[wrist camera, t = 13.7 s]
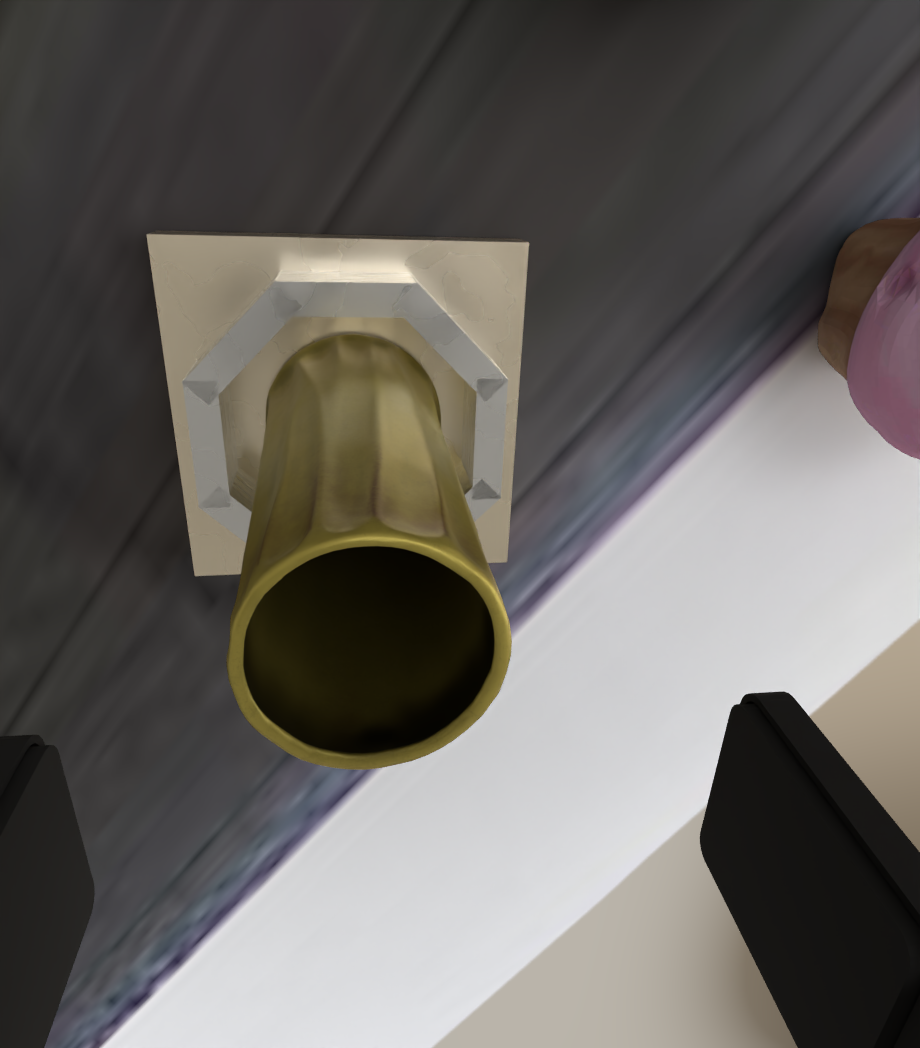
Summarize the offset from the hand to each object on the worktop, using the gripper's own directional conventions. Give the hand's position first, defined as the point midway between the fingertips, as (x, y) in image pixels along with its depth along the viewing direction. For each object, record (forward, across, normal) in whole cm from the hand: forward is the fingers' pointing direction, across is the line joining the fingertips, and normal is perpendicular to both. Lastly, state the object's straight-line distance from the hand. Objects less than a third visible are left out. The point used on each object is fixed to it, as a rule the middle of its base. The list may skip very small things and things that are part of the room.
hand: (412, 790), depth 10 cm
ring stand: (+19, +1, 0) cm, 19 cm away
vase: (+18, +1, 0) cm, 18 cm away
